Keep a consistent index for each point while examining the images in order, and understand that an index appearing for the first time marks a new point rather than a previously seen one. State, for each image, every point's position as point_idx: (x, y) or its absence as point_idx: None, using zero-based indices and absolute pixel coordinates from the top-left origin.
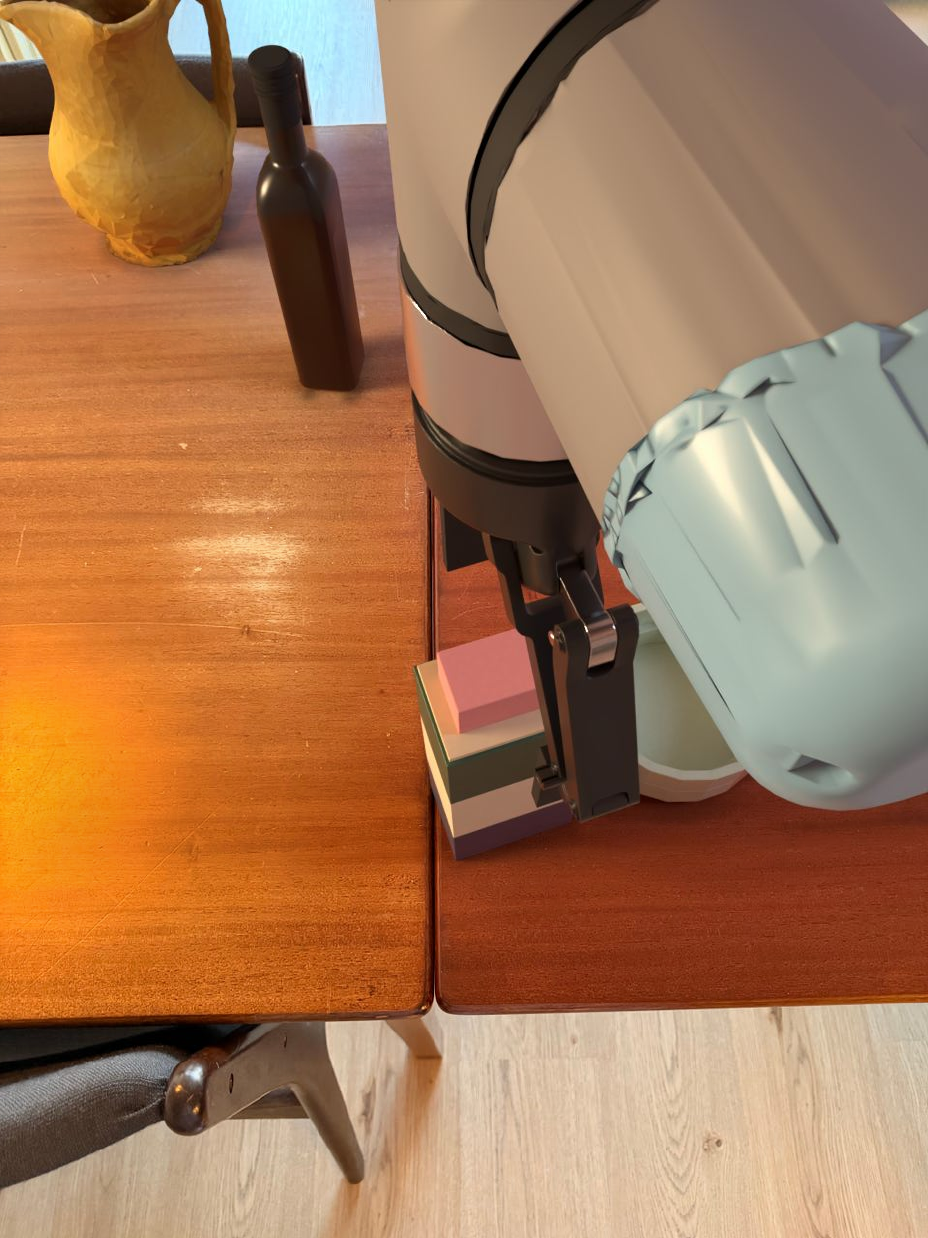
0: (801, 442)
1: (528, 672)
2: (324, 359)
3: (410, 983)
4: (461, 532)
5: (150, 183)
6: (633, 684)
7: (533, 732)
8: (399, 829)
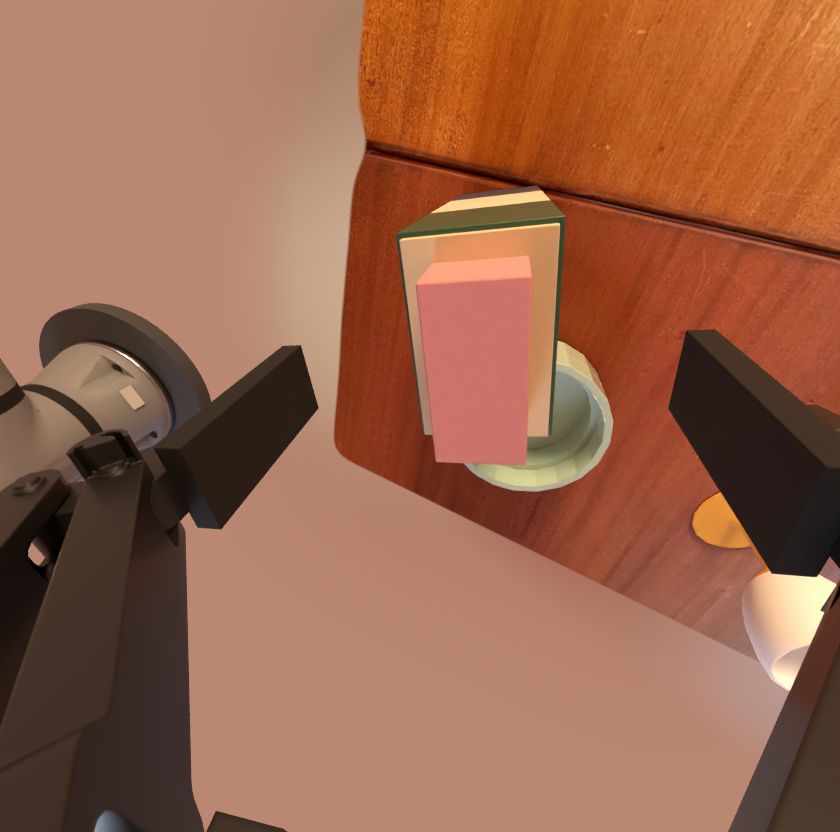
0: None
1: (454, 397)
2: None
3: (371, 125)
4: (729, 415)
5: None
6: None
7: (415, 355)
8: (505, 141)
